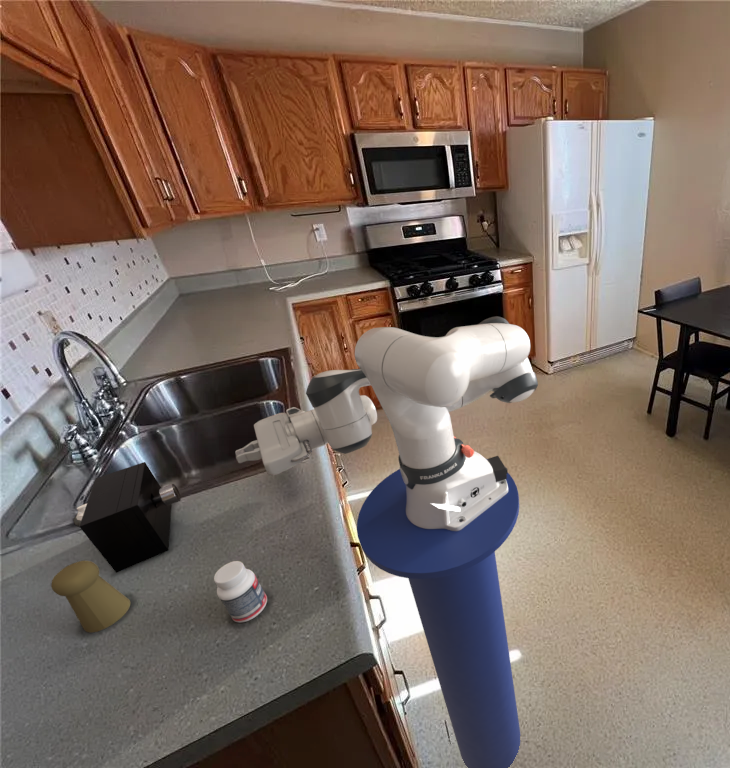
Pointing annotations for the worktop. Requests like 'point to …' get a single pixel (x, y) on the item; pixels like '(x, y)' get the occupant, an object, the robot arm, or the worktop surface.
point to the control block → (127, 517)
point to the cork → (90, 596)
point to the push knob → (167, 495)
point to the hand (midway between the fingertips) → (236, 457)
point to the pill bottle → (240, 591)
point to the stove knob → (79, 515)
